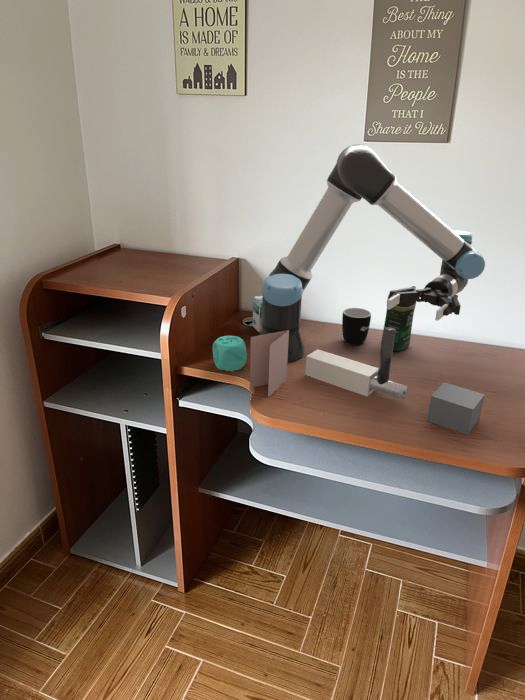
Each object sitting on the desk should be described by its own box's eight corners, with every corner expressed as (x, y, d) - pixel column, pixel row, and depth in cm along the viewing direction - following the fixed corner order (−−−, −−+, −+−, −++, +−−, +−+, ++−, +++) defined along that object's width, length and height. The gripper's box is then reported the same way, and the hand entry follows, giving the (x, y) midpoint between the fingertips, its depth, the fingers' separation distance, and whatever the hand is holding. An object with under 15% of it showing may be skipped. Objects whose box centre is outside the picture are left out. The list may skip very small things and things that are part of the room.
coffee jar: (399, 354, 168) (408, 297, 160) (377, 347, 172) (384, 291, 165) (413, 344, 175) (421, 290, 167) (391, 338, 179) (398, 284, 172)
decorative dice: (246, 369, 156) (247, 344, 152) (220, 373, 153) (220, 347, 150) (238, 358, 162) (238, 333, 159) (212, 361, 160) (212, 337, 156)
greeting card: (284, 378, 151) (287, 328, 145) (298, 389, 145) (301, 338, 139) (248, 386, 146) (249, 335, 140) (261, 398, 140) (262, 346, 134)
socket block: (426, 420, 133) (431, 395, 130) (439, 406, 139) (444, 382, 136) (467, 434, 127) (473, 409, 124) (479, 419, 134) (484, 394, 131)
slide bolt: (315, 372, 152) (319, 313, 145) (321, 368, 155) (326, 309, 148) (401, 401, 138) (411, 338, 131) (407, 396, 141) (416, 333, 134)
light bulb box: (258, 333, 180) (259, 302, 176) (251, 326, 186) (252, 296, 181) (287, 329, 184) (289, 299, 179) (280, 322, 189) (281, 293, 185)
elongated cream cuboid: (305, 375, 153) (306, 356, 151) (316, 367, 158) (317, 349, 155) (367, 396, 143) (369, 376, 140) (377, 388, 147) (379, 368, 145)
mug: (359, 349, 170) (362, 319, 166) (335, 342, 175) (337, 312, 171) (377, 338, 179) (380, 309, 175) (353, 331, 184) (356, 303, 180)
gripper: (481, 311, 154) (456, 334, 139) (399, 294, 168) (368, 313, 152) (485, 286, 151) (461, 306, 135) (402, 270, 164) (371, 287, 149)
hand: (412, 310), depth 144 cm, fingers open, 13 cm apart
